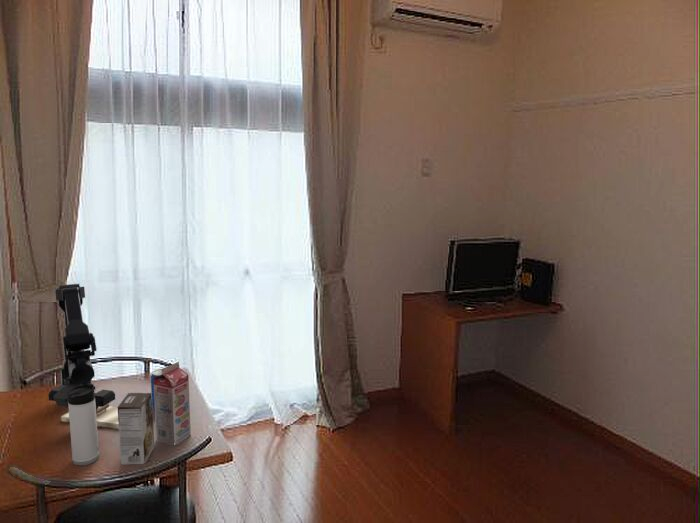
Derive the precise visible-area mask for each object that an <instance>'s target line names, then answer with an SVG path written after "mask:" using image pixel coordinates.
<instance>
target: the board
mask: <svg viewBox="0 0 700 523" xmlns="http://www.w3.org/2000/svg"><path fill="white" fill-rule="evenodd" d="M117 407H118V406H111V405H109V407H108V408H107V409H106V410H103V411H102V412H100V413H99V414H97V415H96V419H97V427H100V426H102V428H107V427H108V429H109V428H110V429H115V430H119V422H118V408H117ZM98 408H99V407H98ZM61 421H62V422H63V423H69V422H70V420H69V411H68V412H67V413H65V414H63V415H61V416H60V422H61Z"/></svg>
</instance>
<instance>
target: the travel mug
mask: <svg viewBox="0 0 700 523" xmlns="http://www.w3.org/2000/svg"><path fill="white" fill-rule="evenodd" d="M94 386H95V385H94V384H93V383H92V384H89V383H88V384H86V385H81V386H77V387H75V388H73V389H71V390H70V391H69V392H68V407H69V409H68V412H69V420H70V423H69V431H70V442H71V443H70V444H71V446H70V447H71V456H72V463H73V464H74V465H75V466H78V465H79V466H82V465H83V466H88V465H90V464H94V463H96V461H98V460H99V458H100V451H99V439H98V438H99V436H98V434H99V433H98V426H97V419H96V404H95V396H94V395H95V393H96V392H95V390H94ZM68 407H67V408H68Z"/></svg>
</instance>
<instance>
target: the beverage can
mask: <svg viewBox="0 0 700 523" xmlns="http://www.w3.org/2000/svg"><path fill="white" fill-rule="evenodd" d="M161 369H162V368H158V369H155V370H153V371H152V372H151V375H150V389H151V391H150V393H151V397H152V409H153V408H154V409H155V401H154V381H153V379H154V378H155V377H157V376H160V375H162V370H161Z"/></svg>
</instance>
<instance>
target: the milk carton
mask: <svg viewBox="0 0 700 523" xmlns="http://www.w3.org/2000/svg"><path fill="white" fill-rule="evenodd" d="M160 369H161V370H162V375H160V376H157V377H155V378H154V379H153V381H154V401H155V408H154V417H155V418H154V420H155V436H156V438H155V439H156V440H155V441H156V442H159V443H161V444H162V443H163V444H167V445H170V446H174V443H175V446H177V445H178V444H180V443H182V442H183V441H184V440H186V439H189V437H191V432H192V431H191V430H192V429H191V406H190V404H191V403H190V389H189V388H190V384H189V383H190V382H189V377H190V376H189V374H188V373H187V372H186V371H185V370H183V368H181V367H180V361H177V362H175V363H174V362H173V363H172V364H170V365H167V366H165V367H163V368H160ZM176 444H177V445H176ZM175 446H174V447H175Z"/></svg>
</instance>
